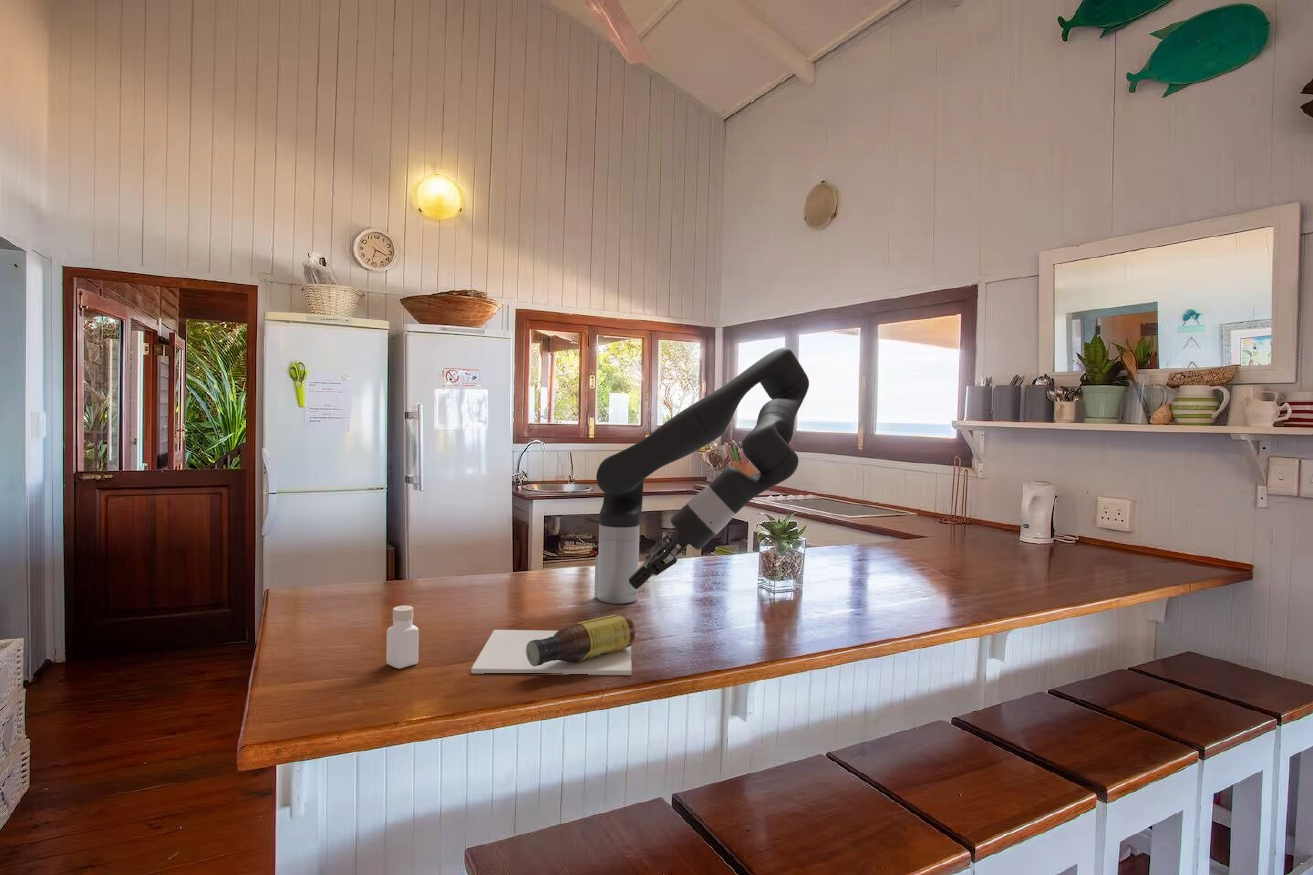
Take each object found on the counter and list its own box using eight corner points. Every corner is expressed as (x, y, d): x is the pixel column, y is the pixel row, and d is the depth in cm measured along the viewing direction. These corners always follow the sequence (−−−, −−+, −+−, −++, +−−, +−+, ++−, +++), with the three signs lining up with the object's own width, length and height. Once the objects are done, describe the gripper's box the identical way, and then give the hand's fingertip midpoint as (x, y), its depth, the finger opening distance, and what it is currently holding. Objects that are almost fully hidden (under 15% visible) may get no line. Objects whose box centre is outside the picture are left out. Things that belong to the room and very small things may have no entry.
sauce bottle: (614, 641, 129) (518, 664, 116) (617, 607, 129) (521, 627, 116) (637, 653, 124) (539, 679, 111) (639, 619, 124) (542, 641, 111)
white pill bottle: (406, 658, 120) (407, 603, 120) (419, 664, 118) (420, 608, 117) (384, 664, 117) (385, 608, 117) (397, 670, 115) (398, 612, 114)
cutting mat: (471, 673, 114) (471, 668, 114) (494, 633, 134) (494, 629, 134) (631, 675, 116) (631, 670, 116) (630, 635, 136) (630, 631, 135)
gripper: (722, 539, 119) (647, 610, 119) (712, 526, 132) (645, 590, 132) (692, 507, 118) (617, 578, 118) (685, 497, 131) (617, 561, 131)
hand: (632, 584), depth 125 cm, fingers closed
